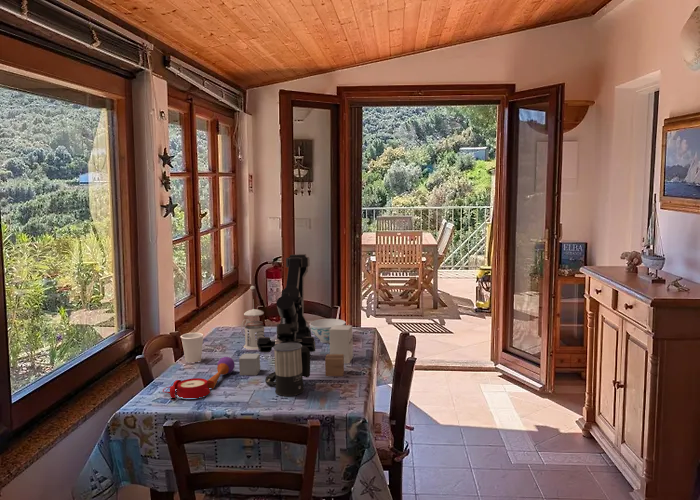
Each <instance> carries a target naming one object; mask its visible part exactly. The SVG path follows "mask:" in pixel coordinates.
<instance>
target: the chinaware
mask: <svg viewBox="0 0 700 500" xmlns="http://www.w3.org/2000/svg"><path fill="white" fill-rule="evenodd" d="M334 325H346V321H345V320H343V319H341V318H340V319H336V318H321V319H315V320H313V321H310V322H309V329H310V330H311V334H313V336H314V337H315V338H317V339H318V340H319V342H320V343H323V344H330V333H329V330H330V329H331V328H332V327H333V326H334Z"/></svg>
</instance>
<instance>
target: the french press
mask: <svg viewBox="0 0 700 500" xmlns="http://www.w3.org/2000/svg"><path fill="white" fill-rule="evenodd" d="M249 288H250V290H252V291H254V290H255V289H256V287H255V285H251V286H250V287H249ZM254 303H255V302H254V300H252V306H253V307H252V309H249V310H247V311H245V312H244V313H243V316H244V317H259V316H262V315H264V313H265V312H264V311H263V310H261V309H257V308H256V309H255V304H254ZM245 321H246V322H245ZM244 322H245V323H244ZM243 323H244V331H241V333H242V335H243V337H244V340H245V341H244V342H245V344H244V345H243V347H244V348H246V349H245V350H249V351H250V350H251V351H252V350H253V351H255V350H259V348H258V345H257V340H258V339H259V338H260V337H266V336H265V326H264V325H263V323H264V322H263V321H260V320H252V321H250V318H248V319H246V318H244V319H243V320H242V322H241V328H240V329H243ZM244 348H243V349H244Z"/></svg>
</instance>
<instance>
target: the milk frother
mask: <svg viewBox="0 0 700 500" xmlns="http://www.w3.org/2000/svg"><path fill="white" fill-rule="evenodd" d="M272 350H274V351H273V352H274V353H273V354H274V372H273V371H272V372H271V373H270V374H268V375H267V376H266V377H265V381H264V382H265V384H266V385H269V386H272V387H274V386H275V391H274V392H275V394H276V395H279V396H283V397H291V396H292V397H293V396H297V395H301V394H302V393H304V391H305V388H304V387H305V386H304V379H303V378H309V377H310V376H311V356H310V355H311V352H310V351H309V349H308V348H307V347H305V346H302V345H301V344H299V343H293V342H289V343H281V344H277V345H275V346H274V347H272Z"/></svg>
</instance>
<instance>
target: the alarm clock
mask: <svg viewBox="0 0 700 500" xmlns="http://www.w3.org/2000/svg"><path fill="white" fill-rule="evenodd" d="M207 380H208V379H205V378H203V377H201V378H200V377H193V378H187V379H184V380H181V379H176V380H175V381H174V382H173V384H172V385H171V386H166V387H164V388H163V389H162V393H167V394H169V396H171V397H172V398H175V399H176V394H177V395H178V396H179V397H183V398H199V397H203V396H206V395H208V394H209V393H211V389H209V388H208V383H212V382H207ZM213 383H214V381H213ZM166 389H169V391H165V390H166ZM175 389H177V390H176V391H177V392H176V391H175ZM175 392H176V393H175ZM209 395H210V394H209ZM209 395H208V396H209ZM171 397H170V398H171ZM206 397H207V396H206ZM203 398H204V397H203Z"/></svg>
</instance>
